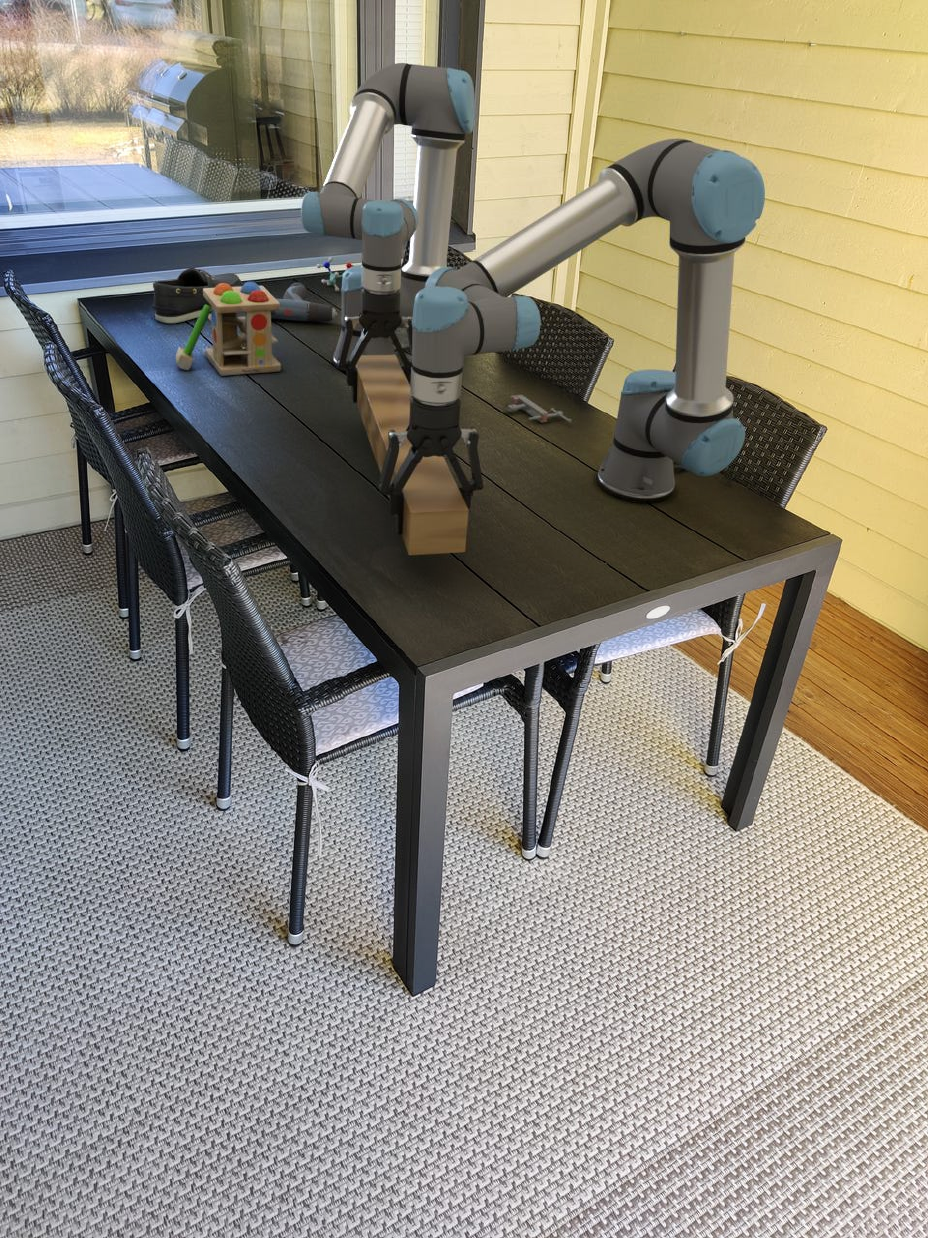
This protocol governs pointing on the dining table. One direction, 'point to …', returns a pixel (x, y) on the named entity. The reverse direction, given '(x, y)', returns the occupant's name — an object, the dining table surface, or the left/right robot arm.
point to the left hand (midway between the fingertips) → (378, 399)
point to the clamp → (526, 405)
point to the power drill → (301, 307)
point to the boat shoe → (186, 294)
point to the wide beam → (431, 488)
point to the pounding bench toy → (229, 347)
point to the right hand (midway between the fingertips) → (428, 528)
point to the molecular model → (333, 276)
